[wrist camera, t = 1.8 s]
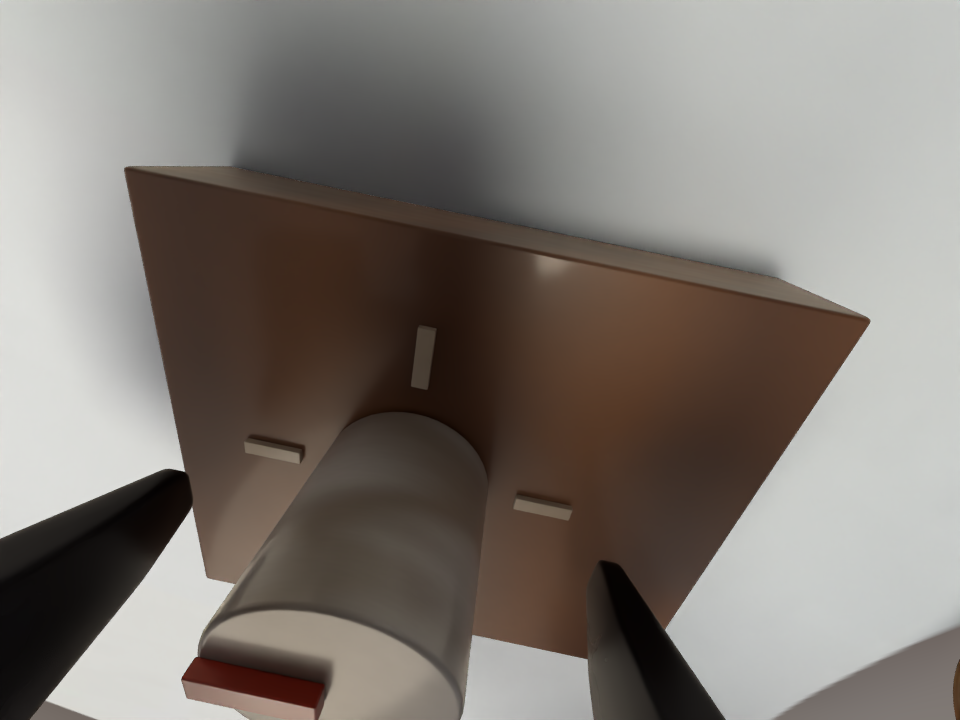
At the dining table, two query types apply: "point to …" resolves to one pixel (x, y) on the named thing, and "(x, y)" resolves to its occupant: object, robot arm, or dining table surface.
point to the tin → (957, 692)
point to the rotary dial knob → (358, 586)
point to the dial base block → (476, 378)
